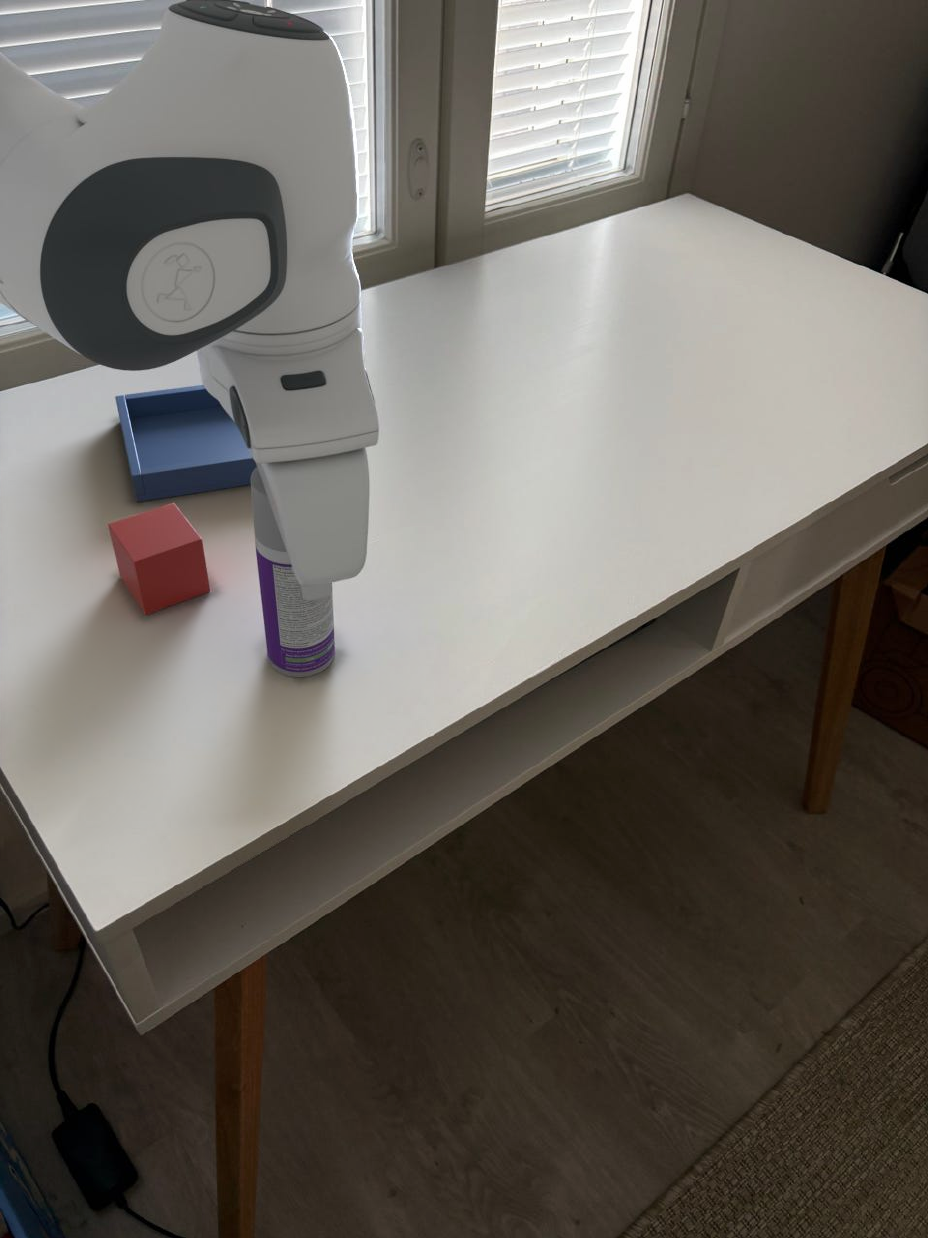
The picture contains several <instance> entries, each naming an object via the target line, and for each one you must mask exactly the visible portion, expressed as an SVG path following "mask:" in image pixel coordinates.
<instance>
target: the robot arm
mask: <svg viewBox="0 0 928 1238" xmlns="http://www.w3.org/2000/svg"><path fill="white" fill-rule="evenodd" d="M348 80H349V79H348V77H347V72H346V68H345V65H344V62H343V59H342V56H341V53H340V50H339V49H338V46H337V44H336V42H335V40H334V39H333V37H331V36H330V35H329V34H328V33H327V32H326V31H325V29H324V28H322V27H321V26H320V25H318V24H317V23H315V22H313V21H312V20H309V19H307V18H304V17H301V16H299V15H297V14H294V13H291V12H288V11H284V10H281V9H278V8H275V7H271V6H262V5H257V4H252V3H250V2H248V1H241V0H184V1H180V2H177V3H173V4H171V5H170V6H168V7H167V8H166V10H165V12H164V15H163V17H162V22H161V26H160V30H159V31H158V34H157V36H156V38H155V40H154V41H153V43H152V44H151V45H150V47H149V48H148V50H147V51H146V52H145V53H144V55H143V56H142V57H141V59H139V61H138V62H137V64H136V65H135V66H134V67H133V68H132V70H130V71H129V73H127V75H126V76H124V78H122V80H121V81H119V83H117V84H116V85H115V86H114V87H113V88H111V90H109V91H108V92H107V93H106V94H104V95H103V96H102V97H100V98H99V99H98V100H96V101H94V102H93V103H92V104H90V105H88V106H86V107H85V106H83V105H81V104H79V103H78V102H75V101H73V100H70V99H69V98H67V97H64V96H62V95H61V94H59V93H57V92H56V91H54V90H53V89H51V88H50V87H48V86H46V85H45V84H43V83H41V82H40V81H38V80H37V79H35V78H34V77H32V76H31V75H30V74H28V73H27V72H26V71H24V70H23V69H21V68H20V67H19V66H18V65H17V64H15V63H14V62H13V61H11V59H9V58H8V57H6V55H4V53H2V52H1V51H0V304H2V305H3V306H4V307H6V308H7V309H9V310H11V311H12V312H13V313H15V314H16V315H18V316H19V317H21V318H22V319H24V320H25V321H27V322H29V324H32V325H33V326H35V327H36V328H39V329H40V330H41V331H43V332H45V333H46V334H47V335H49V336H51V337H52V338H54V339H55V340H57V341H58V342H60V343H61V344H63V345H64V346H66V347H67V348H69V349H70V350H72V351H73V352H75V353H77V354H79V355H80V356H82V357H84V358H86V359H88V360H89V361H91V362H94V363H95V364H98V365H100V366H103V367H106V368H109V369H110V368H111V369H114V370H120V371H129V372H130V371H131V372H137V371H139V372H141V371H149V370H154V369H157V368H161V367H165V366H168V365H170V364H172V363H175V362H177V361H179V360H181V359H183V358H185V357H188V356H190V355H191V354H193V353H195V352H196V354H197V360H198V366H199V373H200V379H201V382H202V385H204V387H205V388H206V390H207V391H208V392H209V393H210V394H211V395H212V396H213V397H214V398H216V399H217V400H219V402H220V404H221V405H222V407H223V408H224V409H225V411H226V412H227V413H228V414H229V416H230V417H231V418H232V419H233V421H234V422H235V424H236V426H237V428H238V429H239V431H240V433H241V435H242V437H243V439H244V441H245V444H246V446H247V448H249V450H250V452H251V455H252V457H253V459H254V461H255V462H256V465H257V468H258V471H259V474H260V476H261V479H262V482H263V485H264V488H265V491H266V494H267V496H268V499H269V502H270V505H271V508H272V511H273V514H274V516H275V519H276V522H277V525H278V528H279V531H280V533H281V536H282V539H283V542H284V545H285V548H286V551H287V553H288V556H289V559H290V562H291V565H292V569H293V573H294V575H295V577H296V579H297V581H298V584H299V587H300V590H301V593H302V596H303V598H304V599H305V600H307V601H312V600H318V599H323V598H327V597H329V596H330V595H331V593H332V594H333V583H335V582H341V581H345V580H349V579H350V580H351V579H353V578H355V577H357V576H358V575H359V574H361V572H362V571H363V569H364V567H365V565H366V560H367V554H368V540H369V538H368V537H369V525H370V524H369V522H370V521H369V519H370V494H371V492H370V491H371V489H370V488H371V485H370V484H371V483H370V481H371V479H370V467H369V466H370V465H369V458H368V453H367V448H370V447H374V446H376V445H378V443H379V439H380V420H379V414H378V413H379V412H378V409H377V406H376V399H375V396H374V394H373V393H374V392H373V390H372V386H371V382H370V379H369V375H368V371H367V369H366V359H365V357H366V355H365V337H364V333H363V318H362V314H363V313H362V288H361V281H360V278H359V274H358V271H357V268H356V265H355V262H354V257H353V240H354V235H355V230H356V227H357V223H358V219H359V211H360V210H359V209H360V208H359V207H360V204H359V203H360V202H359V201H360V199H359V169H358V152H357V151H358V150H357V137H356V136H357V135H356V128H355V116H354V109H353V103H352V96H351V92H350V91H351V90H350V86H349V81H348Z"/></svg>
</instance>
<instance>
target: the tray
mask: <svg viewBox="0 0 928 1238" xmlns="http://www.w3.org/2000/svg"><path fill="white" fill-rule="evenodd" d="M114 400H115V405H116V408H117V412H118V418H119V423H120V427H121V433H122V437H123V443H124V447H125V453H126V456H127V461H128V466H129V472H130V476H131V480H132V487H133V490H134V491H133V492H134V495H135V496H134V497H135V500H136V502H137V503H140V502H141V503H142V502H147V501H153V500H159V499H166V498H173V497H179V496H186V495H192V494H198V493H204V492H211V491H217V490H223V489H224V490H225V489H230V488H237V487H244V486H249V485H250V486H251V474H252V472H253V471H254V469H255V468H256V467H257V465H256V462H255V461H254V459H253V457H252V455H251V452H250V450H249V448H247V446H246V444H245V441H244V439H243V437H242V435H241V433H240V431H239V429H238V428H237V426H236V424H235V422H234V421H233V419H232V418H231V417H230V416H229V414H228V413H227V412H226V411H225V409H224V408H223V407H222V405H221V404H220V402H219V400H217V399H216V398H214V397H213V396H212V395H211V394H210V393H209V392H208V391H207V390H206V388H205V387H204V385H203V384H198V385H191V386H183V387H175V388H167V389H158V390H151V391H144V392H136V393H127V394H122V395H116V396H115V398H114Z"/></svg>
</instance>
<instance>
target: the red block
mask: <svg viewBox="0 0 928 1238" xmlns="http://www.w3.org/2000/svg"><path fill="white" fill-rule="evenodd" d="M107 527H108V531H109V536H110V540H111V544H112V549H113V553H114V557H115V562H116V565H117V569H118V574H119V577H120V579H121V580H122V582H123V583H124V585H125V586H126V588H127V589H128V591H129V592H130V594H131V595H132V598H133V599H134V600H135V601H136V603H137V604H138V606H139V607H140V609H141V611H142V612H143V613H144V615H145V616H147V615H151V614H153V613H156V612H158V611H161V610H164V609H167V608H169V607H172V606H174V605H177V604H180V603H183V602H185V601H188V600H190V599H193V598H197V597H199V596H202V595H204V594H207V593H210V592H211V587H210V581H209V574H208V567H207V561H206V556H205V549H204V543H203V542H204V541H203V539H202V537H201V536H200V534H199V533H198V532H197V530H196V529H195V528H194V527H193V525H192V524H191V522H190V521H189V520H188V519H187V518H186V516H185V515H184V514H183V513H182V511H181V510H180V509H179V508H178V506H177V505H176V504H175V502H172V503H169V504H165V505H161V506H158V507H156V508H152V509H150V510H146V511H143V512H140V513H137V514H134V515H131V516H128V517H124V518H122V519H119V520H116V521H113V522H109V523H107Z"/></svg>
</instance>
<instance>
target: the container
mask: <svg viewBox="0 0 928 1238" xmlns="http://www.w3.org/2000/svg"><path fill="white" fill-rule="evenodd" d="M250 491H251V503H252V519H253V530H254V531H253V532H254V545H255V546H254V548H255V554H256V555H255V556H256V564H257V574H258V582H259V591H260V599H261V601H260V602H261V609H262V618H263V626H264V627H263V628H264V635H265V646H266V653H267V659H268V660H267V661H268V662H269V664H270V666H271V667H272V668H273V669H274V670H275V671H277V672H279V673H280V674H281V675H283V676H288V677H292V678H307V677H310V676H315V675H318V674H320V673H322V672H323V671H325V670H326V669H327V668H329V666H330V665H331V664H332V662H333V661H334V658H335V654H336V645H335V644H336V642H335V619H334V599H333V598H334V597H333V592H332V593H331V595H330V596H329V597H327V598H323V599H318V600H312V601H307V600H305V599H304V598H303V596H302V593H301V590H300V587H299V584H298V581H297V579H296V577H295V575H294V573H293V569H292V565H291V562H290V559H289V556H288V553H287V551H286V548H285V545H284V542H283V539H282V536H281V533H280V531H279V528H278V525H277V522H276V519H275V516H274V514H273V511H272V508H271V505H270V502H269V499H268V496H267V494H266V491H265V488H264V485H263V482H262V479H261V476H260V474H259V471H258V468H257V467H256V468H255V469H254V471H253V472H252V474H251V484H250Z"/></svg>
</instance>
